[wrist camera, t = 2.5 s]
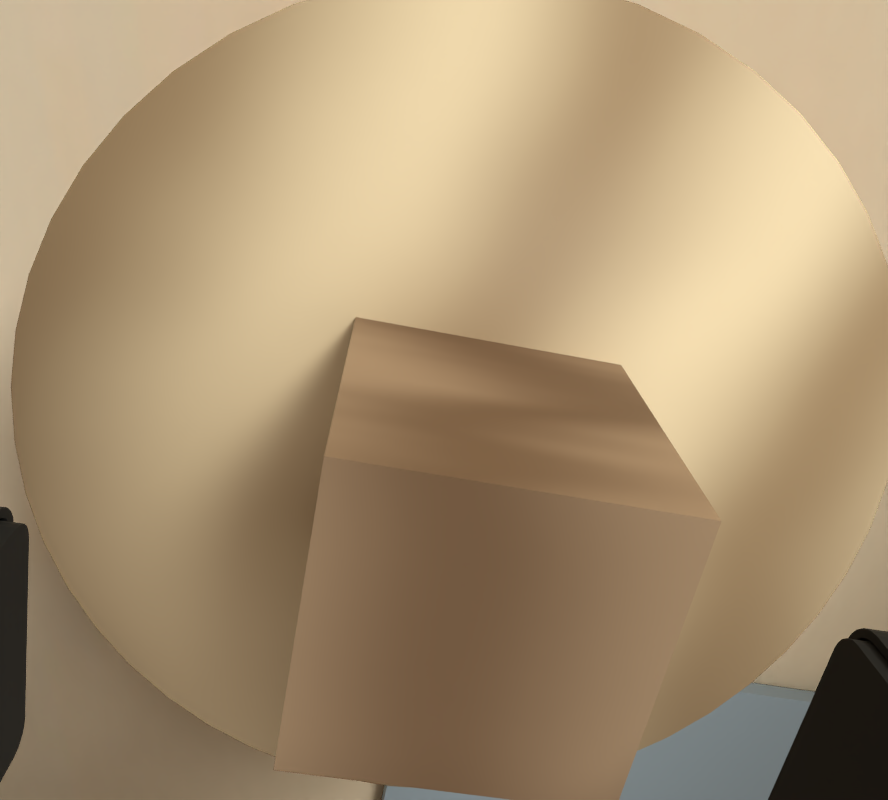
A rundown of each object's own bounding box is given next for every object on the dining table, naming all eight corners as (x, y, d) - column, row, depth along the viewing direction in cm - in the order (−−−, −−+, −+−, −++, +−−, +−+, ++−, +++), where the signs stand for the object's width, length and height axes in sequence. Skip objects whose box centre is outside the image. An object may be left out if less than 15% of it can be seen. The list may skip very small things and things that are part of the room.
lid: (980, 89, 14) (1437, 122, 8) (706, 757, 20) (845, 1096, 14) (73, -115, 13) (-274, -278, 6) (49, 669, 18) (-149, 1004, 12)
